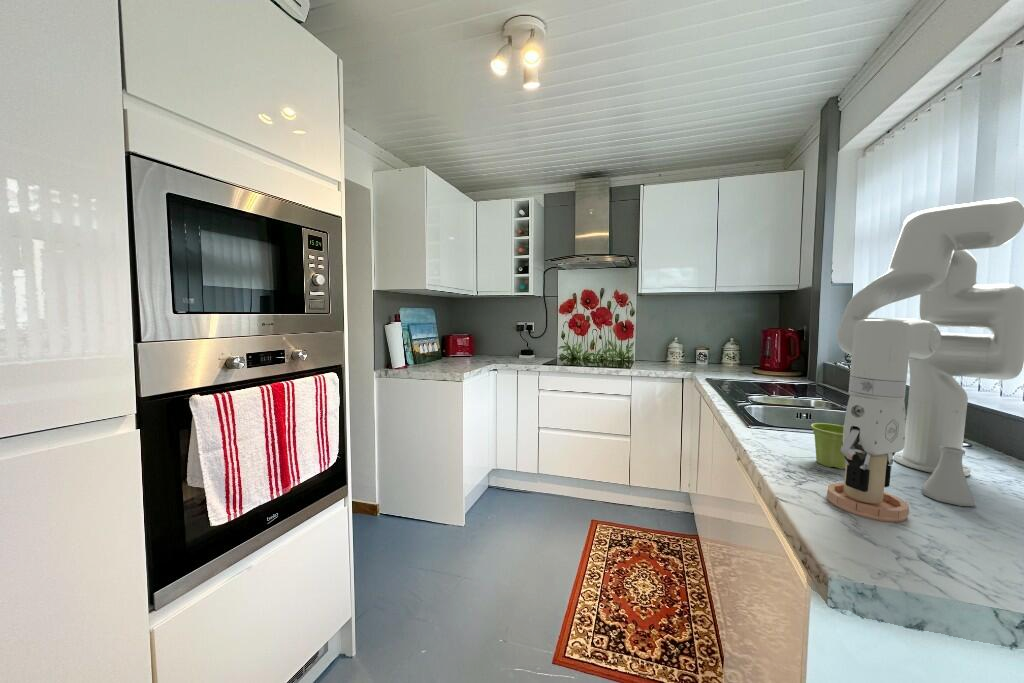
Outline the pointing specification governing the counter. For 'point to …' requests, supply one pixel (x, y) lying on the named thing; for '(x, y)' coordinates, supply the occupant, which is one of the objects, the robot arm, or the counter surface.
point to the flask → (949, 479)
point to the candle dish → (869, 505)
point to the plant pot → (829, 444)
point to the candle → (870, 481)
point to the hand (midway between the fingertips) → (867, 485)
